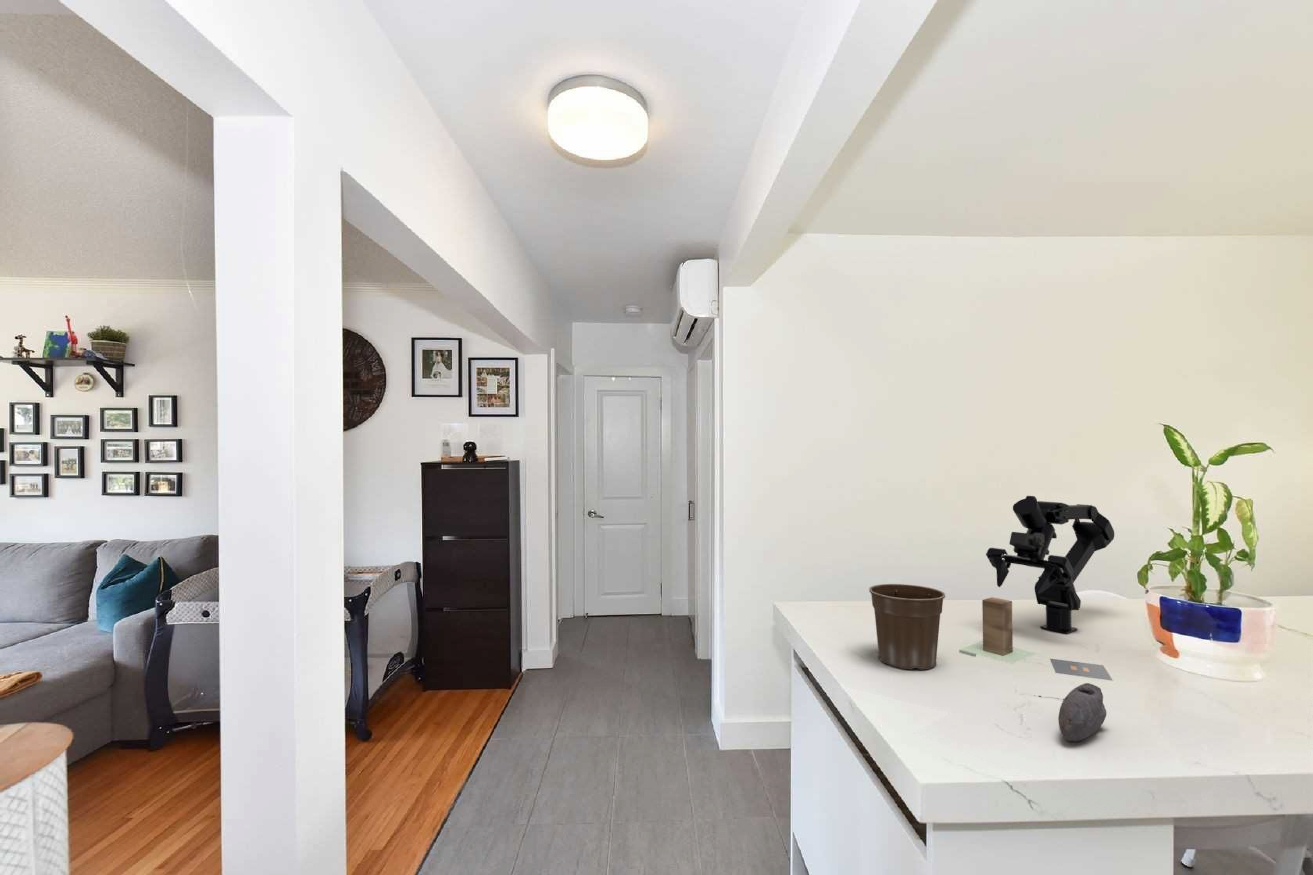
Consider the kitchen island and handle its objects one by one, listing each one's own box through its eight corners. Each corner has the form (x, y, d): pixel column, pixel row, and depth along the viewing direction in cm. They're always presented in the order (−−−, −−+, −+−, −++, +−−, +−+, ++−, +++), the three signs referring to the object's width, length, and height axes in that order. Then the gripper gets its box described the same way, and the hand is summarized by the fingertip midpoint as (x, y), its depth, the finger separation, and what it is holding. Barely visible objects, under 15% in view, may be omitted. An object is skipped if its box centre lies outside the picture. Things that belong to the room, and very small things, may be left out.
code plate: (1049, 660, 140) (1049, 658, 140) (1103, 667, 135) (1103, 664, 135) (1055, 675, 131) (1055, 672, 131) (1113, 683, 126) (1113, 680, 126)
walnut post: (992, 646, 148) (992, 597, 148) (1012, 652, 144) (1012, 600, 144) (983, 650, 145) (982, 599, 145) (1003, 655, 141) (1002, 603, 142)
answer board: (984, 642, 153) (984, 640, 153) (1036, 655, 143) (1036, 653, 143) (959, 652, 146) (959, 649, 146) (1012, 666, 136) (1012, 663, 136)
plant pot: (883, 645, 151) (883, 579, 152) (954, 659, 141) (953, 589, 142) (859, 663, 139) (858, 592, 139) (934, 680, 129) (933, 603, 129)
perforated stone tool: (1082, 753, 98) (1081, 709, 98) (1045, 741, 102) (1044, 699, 102) (1112, 726, 107) (1112, 686, 107) (1077, 716, 111) (1077, 678, 111)
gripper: (988, 517, 163) (967, 563, 156) (1067, 523, 148) (1048, 575, 141) (1003, 543, 167) (983, 589, 161) (1081, 553, 152) (1063, 604, 146)
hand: (1017, 589), depth 152 cm, fingers open, 9 cm apart
